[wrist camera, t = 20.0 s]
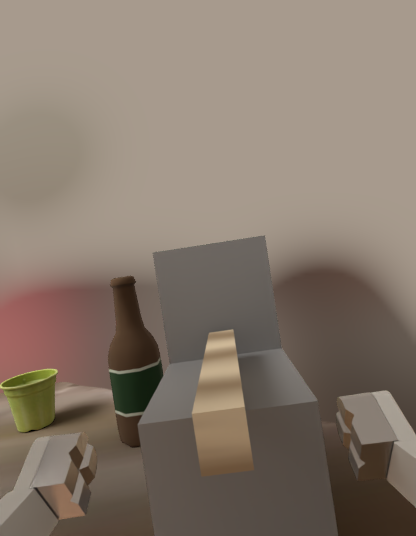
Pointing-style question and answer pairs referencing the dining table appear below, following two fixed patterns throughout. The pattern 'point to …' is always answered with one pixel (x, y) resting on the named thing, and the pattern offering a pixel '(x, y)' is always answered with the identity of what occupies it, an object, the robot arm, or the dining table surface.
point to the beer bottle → (131, 362)
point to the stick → (221, 410)
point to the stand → (255, 400)
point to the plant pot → (32, 398)
